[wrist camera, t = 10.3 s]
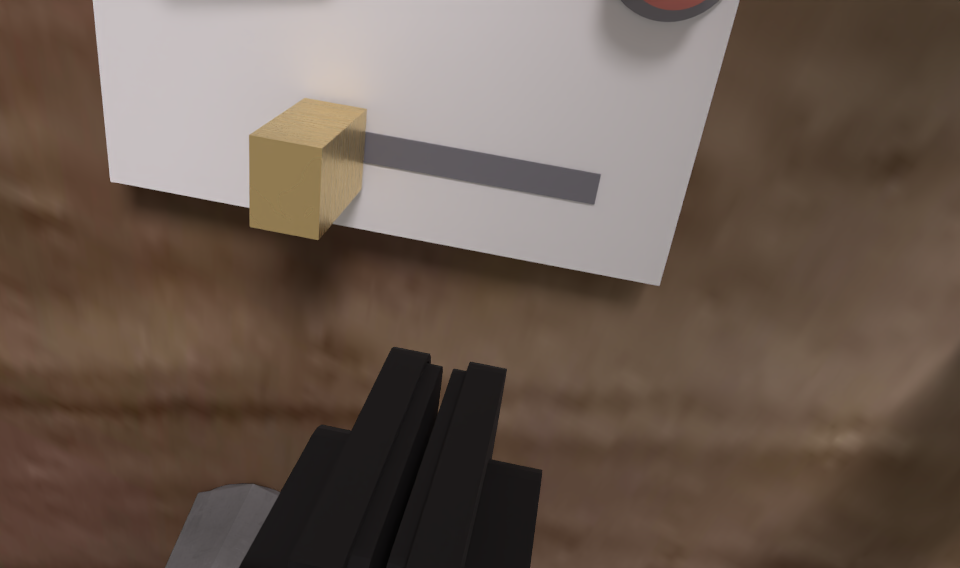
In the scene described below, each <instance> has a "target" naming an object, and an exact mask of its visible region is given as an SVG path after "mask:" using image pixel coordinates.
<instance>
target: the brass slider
mask: <svg viewBox="0 0 960 568" xmlns="http://www.w3.org/2000/svg"><path fill="white" fill-rule="evenodd" d="M366 116H367V109H364V108H359V107H353V106H348V105H342V104H336V103H331V102H325V101H320V100H314V99H309V98H304V99H302V100H301V101H299V102H298V103H296V104H295V105H293V106H292V107H290V108H289V109H287V110H286V111H284V112H283V113H281V114H280V115H278V116H277V117H275V118H274V119H272V120H271V121H269V122H268V123H266V124H265V125H263V126H262V127H260V128H259V129H257V130H256V131H254V132H253V133H251V134H250V135H249V214H250V227H253V228H258V229H263V230H268V231H273V232H279V233H284V234H289V235H294V236H299V237H305V238H310V239H315V240H319V239H320V238H321V237H322V235H323V234H324V233H325V232H326V231H327V230H328V228H329V227H330V226H331V225H332V224H333V222H334V221H335V220H336V219H337V218H338V216H339V215H340V214H341V213H342V212H343V211H344V209H345V208H346V207H347V206H348V205H349V203H350V202H351V201H352V200H353V199H354V198H355V196H356V195H357V194H358V193H359V192H360V190H361V189H362V175H363V160H364V145H365V130H366Z"/></svg>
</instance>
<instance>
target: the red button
mask: <svg viewBox="0 0 960 568" xmlns="http://www.w3.org/2000/svg"><path fill="white" fill-rule="evenodd" d="M644 1H645V2H647V3H648V4H650V5H652V6H654V7H657V8H660V9H664V10H682V9H687V8H690V7H693V6H695V5H698V4H700V3H701V2H703V1H705V0H644Z"/></svg>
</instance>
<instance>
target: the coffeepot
mask: <svg viewBox="0 0 960 568" xmlns="http://www.w3.org/2000/svg"><path fill="white" fill-rule="evenodd" d="M279 494H280V492H278V491H276V490H273V489H271V488H267V487H263V486H259V485H255V484H230V485H225V486H221V487H218V488H215V489H213V490H211V491H207V492H201V493H198V495H197V497H196V499H195V502H194V504H193V506H192V508H191V511H190V513H189V515H188V518H187V520H186V522H185V524H184V527H183V529H182V531H181V533H180V535H179V538H178V540H177V542H176V544H175V547H174V549H173V551H172V553H171V555H170V558H169V560H168V562H167V564H166V567H165V568H239V566H240V564H241V563H242V561H243V559H244V557H245V555H246V554H247V552H248V550H249V548H250V546H251V545H252V543H253V541H254V539H255V537H256V536H257V534H258V532H259V530H260V528H261V527H262V525H263V523H264V521H265V519H266V517H267V516H268V514H269V512H270V510H271V508H272V507H273V505H274V503H275V501H276V499H277V498H278V496H279Z"/></svg>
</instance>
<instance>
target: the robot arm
mask: <svg viewBox="0 0 960 568" xmlns="http://www.w3.org/2000/svg"><path fill="white" fill-rule="evenodd" d="M506 371H507V369H505V368H500V367H495V366H490V365H484V364H479V363H474V362H470V363H469V366H468V369H467V371H463V370H458V369H453V371H452V374H451V377H450V380H449V383H448V386H447V389H446V392H445V394H444V397H443V400H442V403H441V406H440V409H439V412H438V406H439V398H440V390H441V382H442V373H443V367H442V366H438V365H433V364H431V355H430V354H428V353H423V352H418V351H413V350H408V349H403V348H398V347H393V348H392V349H391V351H390V353H389V355H388V357H387V359H386V361H385V363H384V365H383V367H382V369H381V371H380V373H379V375H378V377H377V379H376V381H375V383H374V385H373V388H372V390H371V392H370V394H369V396H368V398H367V400H366V402H365V404H364V406H363V408H362V410H361V412H360V414H359V416H358V418H357V420H356V422H355V425H354V427H353V429H352V431H350V430H345V429H340V428H336V427H331V426H326V425H320V426H319V427H317V429H316V430H315V432H314V433H313V434H312V436H311V438H310V440H309V442H308V443H307V445H306V447H305V449H304V451H303V453H302V454H301V456H300V458H299V460H298V462H297V463H296V465H295V467H294V469H293V471H292V472H291V474H290V476H289V478H288V480H287V481H286V483H285V485H284V487H283V489H282V490H281V492H280V494H279V496H278V498H277V499H276V501H275V503H274V505H273V507H272V508H271V510H270V512H269V514H268V516H267V517H266V519H265V521H264V523H263V525H262V527H261V528H260V530H259V532H258V534H257V536H256V537H255V539H254V541H253V543H252V545H251V546H250V548H249V550H248V552H247V554H246V555H245V557H244V559H243V561H242V563H241V564H240V566H239V568H530V563H531V556H532V548H533V540H534V532H535V525H536V517H537V509H538V502H539V494H540V486H541V478H542V470H540V469H535V468H530V467H525V466H520V465H515V464H510V463H506V462H501V461H496V460H492V454H493V448H494V442H495V436H496V430H497V425H498V419H499V413H500V407H501V401H502V395H503V389H504V384H505V378H506ZM437 414H438V415H437Z"/></svg>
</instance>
